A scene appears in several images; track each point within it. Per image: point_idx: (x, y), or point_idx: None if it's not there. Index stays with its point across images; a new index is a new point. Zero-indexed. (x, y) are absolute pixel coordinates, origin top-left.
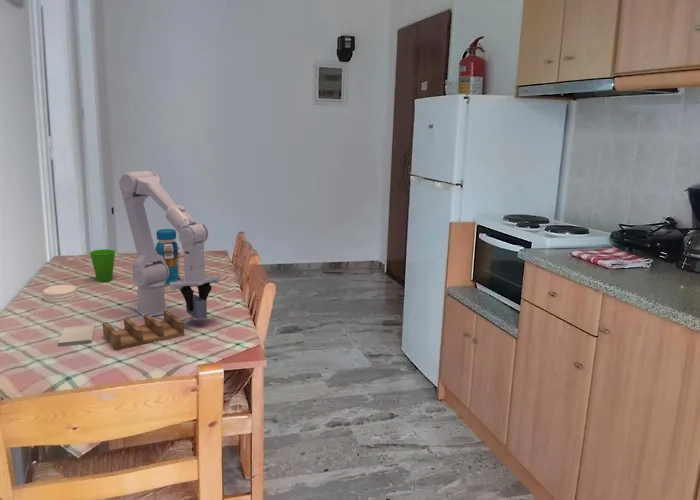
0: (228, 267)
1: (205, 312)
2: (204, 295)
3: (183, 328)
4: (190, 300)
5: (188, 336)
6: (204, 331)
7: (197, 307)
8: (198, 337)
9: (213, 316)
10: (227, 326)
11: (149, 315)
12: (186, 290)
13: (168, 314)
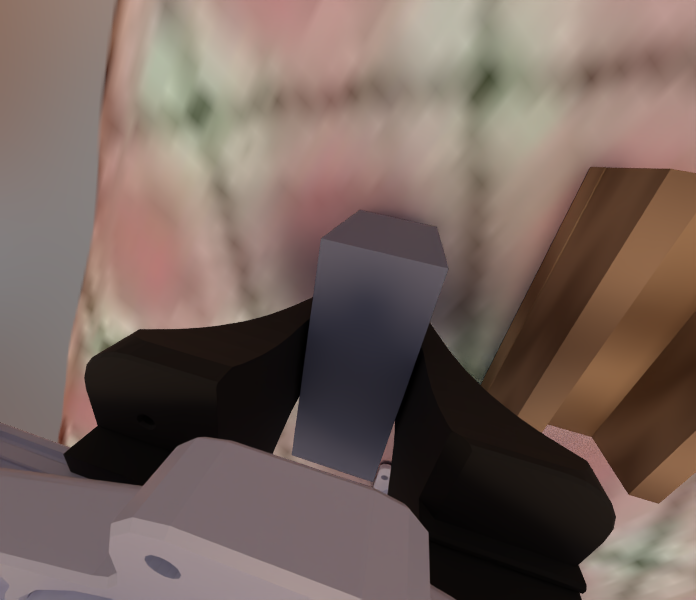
0: None
1: (363, 218)
2: (278, 335)
3: (628, 168)
4: (452, 371)
5: (592, 122)
6: (443, 129)
7: (435, 252)
8: (569, 35)
9: (261, 303)
10: (279, 98)
11: (653, 475)
12: (551, 530)
13: (559, 403)
